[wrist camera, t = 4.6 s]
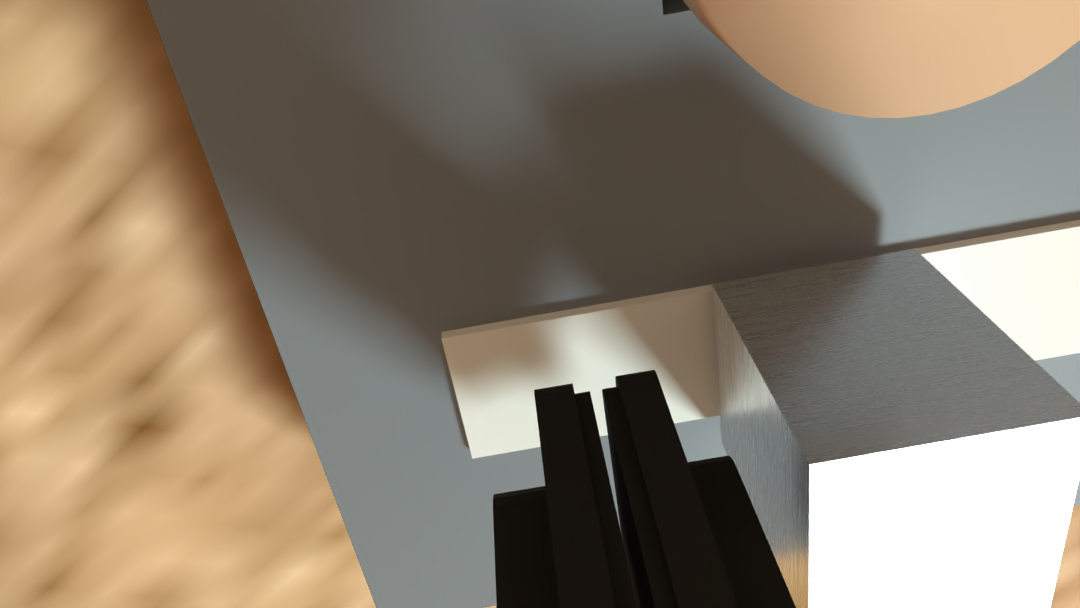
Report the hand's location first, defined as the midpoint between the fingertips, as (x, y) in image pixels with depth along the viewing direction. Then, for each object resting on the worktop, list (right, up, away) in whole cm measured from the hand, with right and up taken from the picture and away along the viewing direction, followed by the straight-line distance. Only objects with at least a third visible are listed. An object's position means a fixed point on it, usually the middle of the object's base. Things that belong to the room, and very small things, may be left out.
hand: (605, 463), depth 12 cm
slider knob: (+3, +1, +1) cm, 4 cm away
